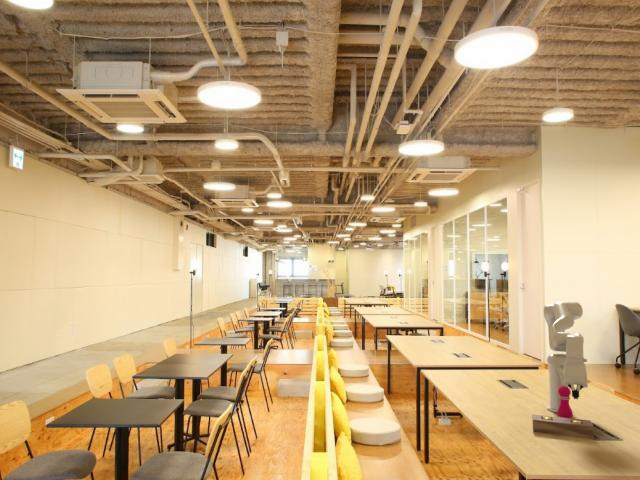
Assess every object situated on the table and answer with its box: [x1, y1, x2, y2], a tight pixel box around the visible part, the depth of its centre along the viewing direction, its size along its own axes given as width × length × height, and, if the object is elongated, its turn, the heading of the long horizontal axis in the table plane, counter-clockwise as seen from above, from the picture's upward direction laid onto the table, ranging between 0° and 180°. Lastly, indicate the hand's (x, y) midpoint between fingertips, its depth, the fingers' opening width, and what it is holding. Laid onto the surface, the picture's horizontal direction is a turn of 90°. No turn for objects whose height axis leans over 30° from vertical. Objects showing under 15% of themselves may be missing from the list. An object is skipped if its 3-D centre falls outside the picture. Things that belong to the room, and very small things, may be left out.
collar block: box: [531, 413, 595, 441], centre depth 233 cm, size 10×26×6 cm, turn 68°
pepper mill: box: [556, 384, 574, 419], centre depth 250 cm, size 7×7×20 cm
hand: (575, 398), depth 232 cm, fingers closed
